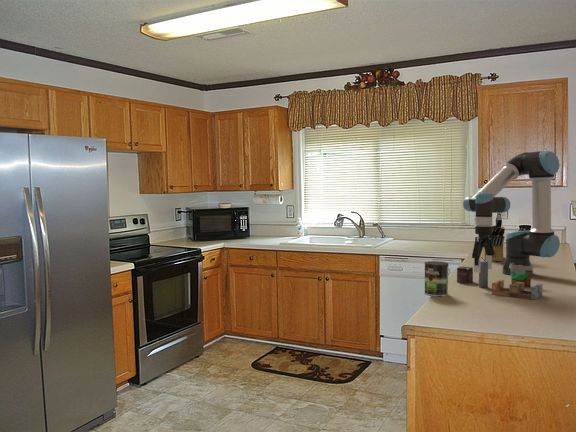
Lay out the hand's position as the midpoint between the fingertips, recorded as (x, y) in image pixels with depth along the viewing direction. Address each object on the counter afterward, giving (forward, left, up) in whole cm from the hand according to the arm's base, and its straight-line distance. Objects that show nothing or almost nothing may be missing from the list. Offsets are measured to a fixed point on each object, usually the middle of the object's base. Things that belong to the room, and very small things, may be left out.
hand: (482, 270), depth 246 cm
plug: (0, 0, -8) cm, 8 cm away
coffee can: (+28, -10, -8) cm, 30 cm away
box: (-7, -12, -8) cm, 16 cm away
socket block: (+8, +18, -8) cm, 21 cm away
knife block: (-90, -30, -8) cm, 95 cm away
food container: (-14, +11, -8) cm, 20 cm away
